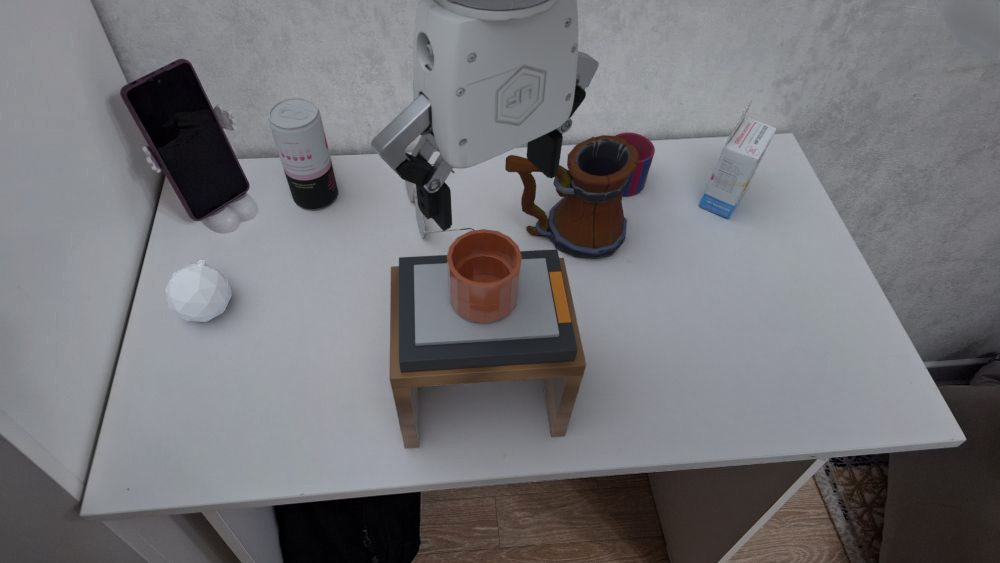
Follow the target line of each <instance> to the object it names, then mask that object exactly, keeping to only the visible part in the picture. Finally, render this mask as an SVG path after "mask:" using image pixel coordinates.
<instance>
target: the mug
mask: <svg viewBox="0 0 1000 563" xmlns="http://www.w3.org/2000/svg"><path fill="white" fill-rule="evenodd" d="M639 155H640V154H639V152H638V151H637V149H636V148H635V146H633V145H630V144H629V143H628V142H627V140H624V139H622V138H620V137H618V136H615V135H607V134H602V135H598V136H592V137H589V138H587V139H585V140H584V141H581V142H579V143H577V144H576V145H575V146H574V147H573V148H572V149H571V150H570V151H569V153H567V158H566V159H567V160H566V161H567V162H566V166H567V168H566V167H564V166H562V165H561V164H559V170H558V175H557V176H556V177H554V178H553V187H555V191H556V193H557V195H558V196H559V197H561V198H560V200H559V201H557V202H556V204H554V205H553V206H552V207H551V208H550V209H549V212H548V215H547V213H546V212H545V211H544V210H543V209H542V208H541V207H540V206H538V205H537V204H535V200H536V195H537V182H536V179H535V177H534V175H533V174H532V173H542V172H541V171H540V170H539V169H538V168H537V167H535V166H534V165H533V164H532V163H531V162H530V161H529V160H528V159H527V157H523V156H519V155H515V154H510V155H507V156H506V157H505V165H504V166H505V168H504V169H505V171H506V172H507V173H517V174H518V175H519V177H520V180H521V182H522V185H523V191H522V195H521V199H520V206H521V209H522V212H523V213H524V214H526V215H528V216H530V217H533V218H535V219H536V220H537V221H536V222H535V225H534V226H533V225H527V226H526V227H525V230H526V232H527V233H528V234H529V235H531V236H541V235H543V236H545V237H549V238H550V240H551V242H552V243H553V245H554V248H556V249H557V250H560V251H562V252H564V253H566V254H569V255H570V256H573V257H575V258H588V259H598V258H599V259H600V258H603V257H610V256H613V254H614V253H615V252H617V250H618V249H619V248H620V247H621V246H622V245H623V244H624V242H625V241H626V237H627V228H628V219H627V218H626V217H625V213H624V208H623V202H622V201H623V197H624V196H623V191H624V190H625V189H626V187H627V186H628V185H629V177H630V176H631V174H632V173H633V172H634V170H635V169H636V168H637V165H638V164H639Z"/></svg>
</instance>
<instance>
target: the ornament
mask: <svg viewBox="0 0 1000 563" xmlns="http://www.w3.org/2000/svg"><path fill="white" fill-rule="evenodd" d="M164 292H165V297H166V300H167V306H168V309H169V310H171V311H172V312H173V313H175V315H176V316H178V317H180V318H181V319H182V320H184V321H185V322H199V323H200V322H201V323H208V322H209V321H211V320H212V319H214V318H217V317H218V316H220V315H222V314H224V313H225V311H226V309H227V307H228V305H229V302H230V300H231V298H232V296H233V294H232V290H231V286H230V282H229V278H228V277H227V276H226V275H225V274H224V273H223V272H221V271H220V270H219V269H218V268H216V267H215V266H214V265H212V264H207V261H206V260H205V259H199V260H197V263H190V264H187V265H185V266H184V267H182V268H179V269H178V270H176V271H174V272H173V273H172V275H171V277H170V279H169V281H168V283H167V285H166V286H165V289H164Z"/></svg>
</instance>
